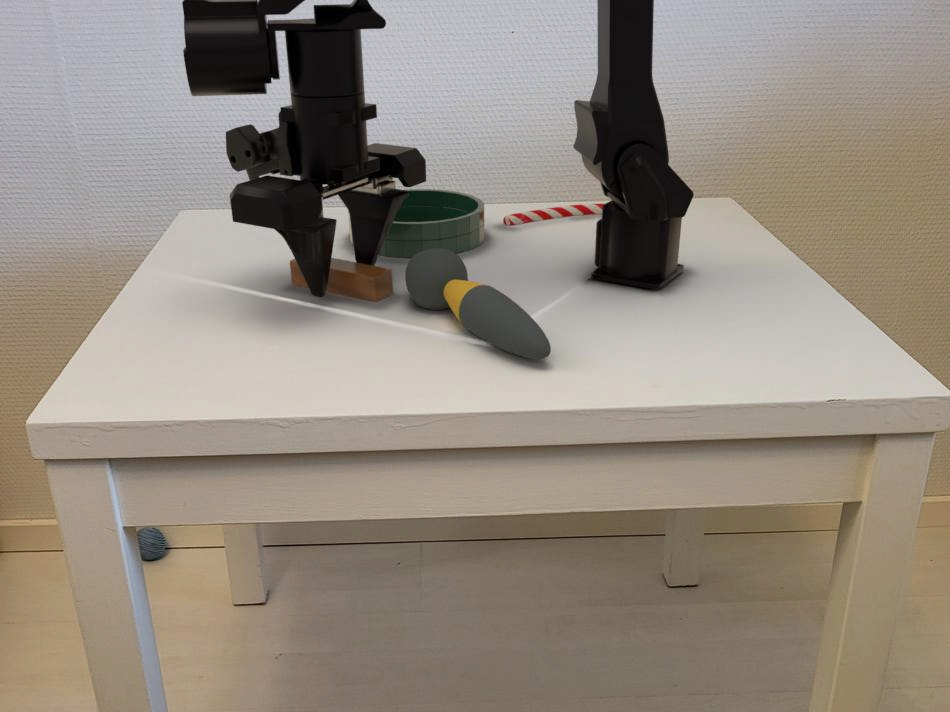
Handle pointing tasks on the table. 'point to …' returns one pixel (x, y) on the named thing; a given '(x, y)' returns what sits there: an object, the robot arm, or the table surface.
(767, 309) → the table surface
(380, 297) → the block
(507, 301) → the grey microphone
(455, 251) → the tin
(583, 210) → the candy cane
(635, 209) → the robot arm
